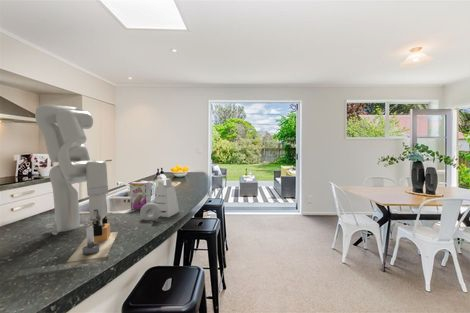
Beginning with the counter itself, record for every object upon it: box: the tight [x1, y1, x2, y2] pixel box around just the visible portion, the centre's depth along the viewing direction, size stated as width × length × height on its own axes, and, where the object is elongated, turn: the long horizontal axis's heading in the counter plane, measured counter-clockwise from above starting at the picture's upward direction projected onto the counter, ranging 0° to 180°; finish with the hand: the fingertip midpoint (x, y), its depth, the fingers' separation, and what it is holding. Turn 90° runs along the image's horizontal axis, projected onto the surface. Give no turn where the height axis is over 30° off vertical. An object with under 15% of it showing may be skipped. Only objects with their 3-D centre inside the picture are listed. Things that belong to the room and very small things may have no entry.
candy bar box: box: [129, 181, 151, 210], centre depth 153 cm, size 11×5×16 cm, turn 77°
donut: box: [139, 202, 160, 222], centre depth 126 cm, size 10×4×10 cm, turn 106°
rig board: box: [66, 231, 119, 267], centre depth 95 cm, size 12×25×2 cm, turn 17°
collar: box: [94, 222, 111, 242], centre depth 102 cm, size 6×6×5 cm
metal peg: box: [83, 225, 99, 256], centre depth 88 cm, size 5×5×10 cm
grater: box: [152, 177, 180, 218], centre depth 140 cm, size 10×10×20 cm
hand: (100, 231), depth 102 cm, fingers open, 9 cm apart
